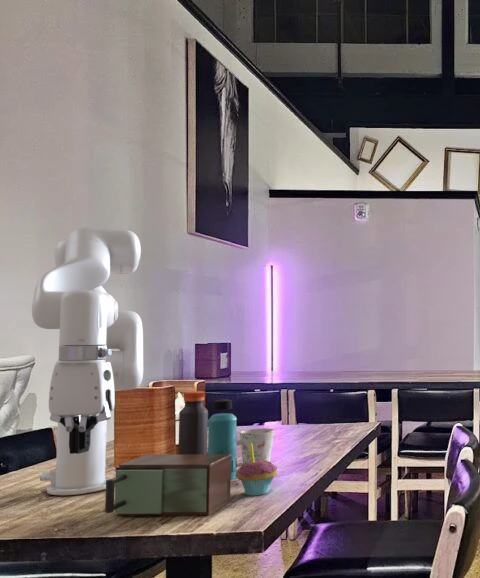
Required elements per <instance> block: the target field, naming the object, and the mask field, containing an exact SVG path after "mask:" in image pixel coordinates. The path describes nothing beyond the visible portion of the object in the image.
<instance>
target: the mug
mask: <svg viewBox="0 0 480 578" xmlns="http://www.w3.org/2000/svg"><path fill="white" fill-rule="evenodd" d="M274 436H275V429H273V428H249V429H243V430H241V431H239V439H236V441H237V442H236V447H237V446H240V449H241V458H242V462H237V467H236V468H240V467H241V466H242V465H244V464H246V463H249V462H251V455H250V447H249V444H250V441H251V443H252V445H253V454H254V461H257V460H262V461H263V460H266V461H269V462H271V458H272V457H271V456H272V448H273V442H274ZM249 440H250V441H249Z"/></svg>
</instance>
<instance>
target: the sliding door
mask: <svg viewBox="0 0 480 578" xmlns="http://www.w3.org/2000/svg"><path fill="white" fill-rule="evenodd" d="M162 491H163V470H119V469H115V477H113V478H110V479H108V480H106V489H105V496H104V513H105V514H110V513H114V515H118V514H161V513H162Z"/></svg>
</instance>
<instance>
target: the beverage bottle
mask: <svg viewBox="0 0 480 578" xmlns="http://www.w3.org/2000/svg"><path fill="white" fill-rule="evenodd" d="M231 409H233V401H232V399H224V398H223V399H216V400H214V401H213V406H212V410H216V411H222V410H225V411H226V410H231ZM237 420H238V418H237V416H236V415H235V414H233V413H230V412H227V413H226V412H221V413H214V414H212V415H211V416H210V417H208V437H207V454H231V481H233V480H234V479H236V478H237V471H238V467H237V464H238V457H237V446H236V442H237V436H238V431H237Z"/></svg>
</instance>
